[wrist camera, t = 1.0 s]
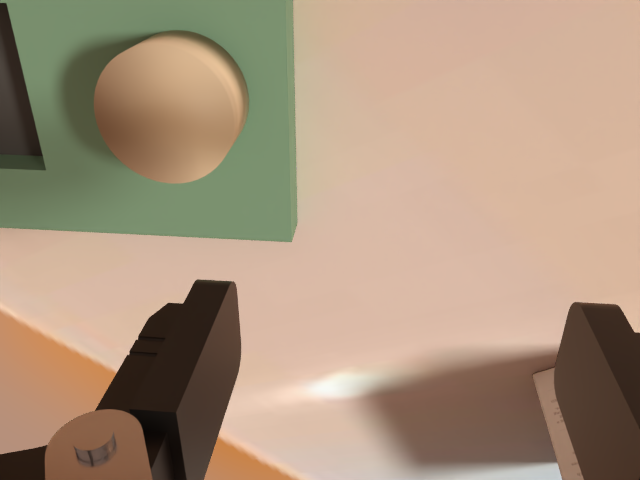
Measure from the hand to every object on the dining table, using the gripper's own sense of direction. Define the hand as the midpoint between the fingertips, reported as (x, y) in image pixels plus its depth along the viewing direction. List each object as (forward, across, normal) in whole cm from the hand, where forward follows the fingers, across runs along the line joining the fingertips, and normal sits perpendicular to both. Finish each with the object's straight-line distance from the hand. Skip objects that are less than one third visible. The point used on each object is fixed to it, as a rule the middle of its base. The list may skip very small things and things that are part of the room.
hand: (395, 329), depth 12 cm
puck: (+16, +9, 0) cm, 18 cm away
